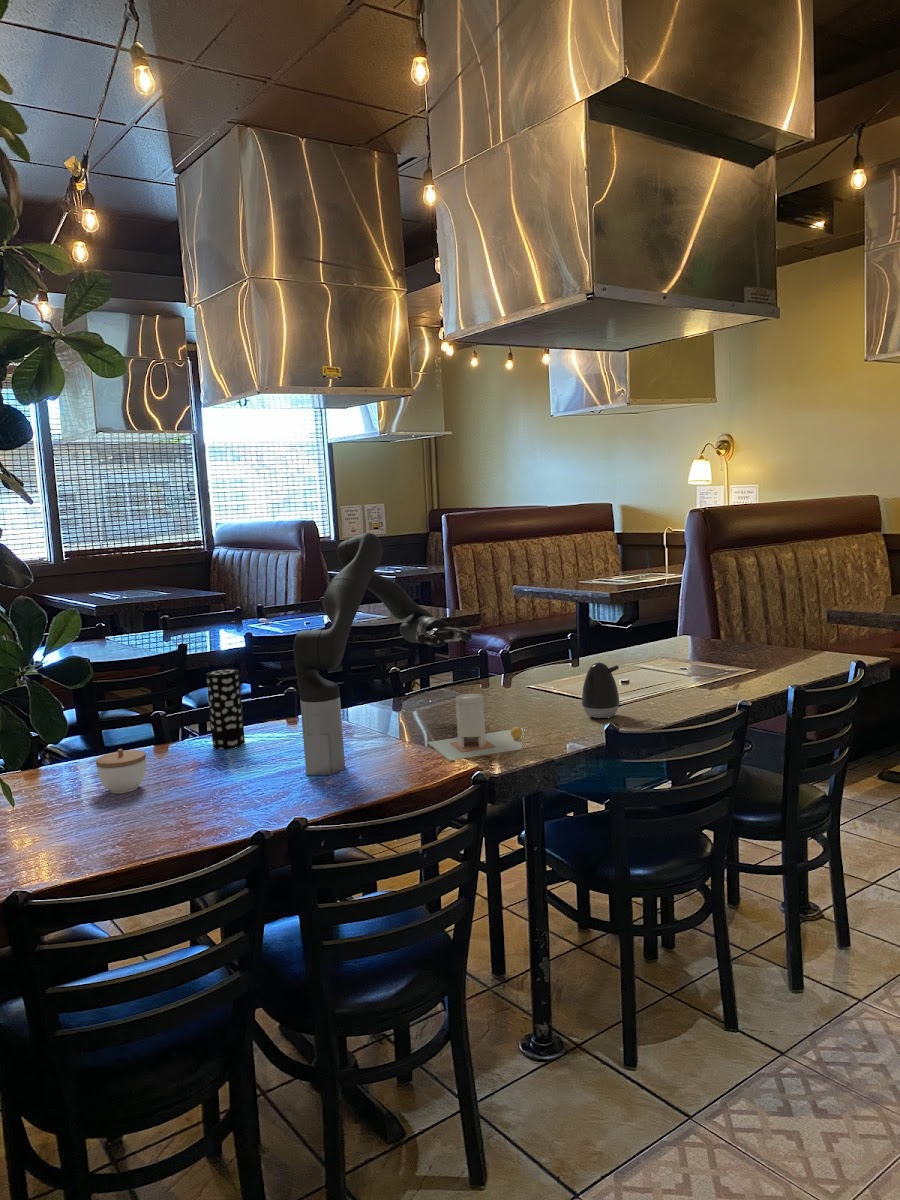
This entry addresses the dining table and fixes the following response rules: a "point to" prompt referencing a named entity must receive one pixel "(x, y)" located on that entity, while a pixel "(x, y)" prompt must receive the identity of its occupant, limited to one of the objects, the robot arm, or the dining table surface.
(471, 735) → the white cover with opening
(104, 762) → the lidded jar
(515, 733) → the ball
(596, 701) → the pump dispenser
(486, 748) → the mat
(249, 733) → the dining table surface
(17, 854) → the dining table surface
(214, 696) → the white-spotted black cylinder
